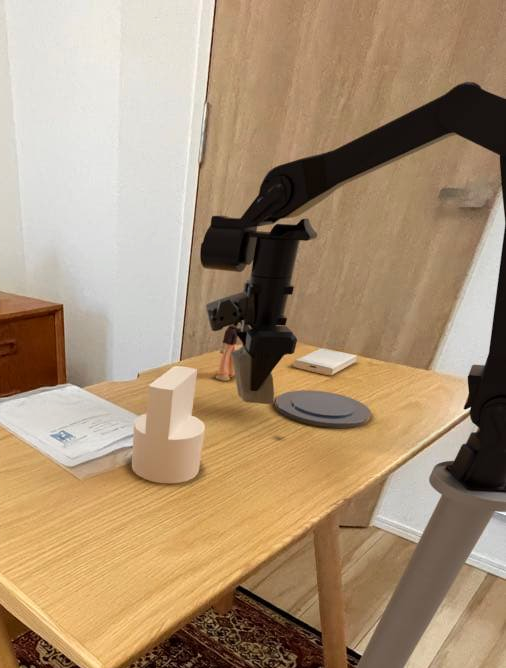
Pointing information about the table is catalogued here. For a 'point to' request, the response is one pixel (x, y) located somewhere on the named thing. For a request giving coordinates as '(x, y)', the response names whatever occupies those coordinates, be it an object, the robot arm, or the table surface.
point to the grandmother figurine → (227, 354)
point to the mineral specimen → (243, 380)
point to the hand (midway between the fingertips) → (250, 384)
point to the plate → (322, 409)
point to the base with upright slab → (169, 430)
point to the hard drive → (325, 361)
